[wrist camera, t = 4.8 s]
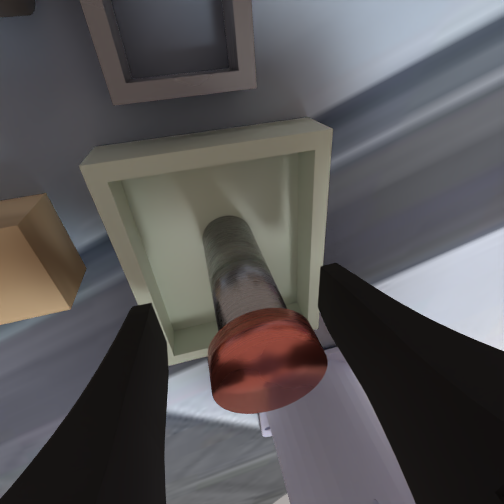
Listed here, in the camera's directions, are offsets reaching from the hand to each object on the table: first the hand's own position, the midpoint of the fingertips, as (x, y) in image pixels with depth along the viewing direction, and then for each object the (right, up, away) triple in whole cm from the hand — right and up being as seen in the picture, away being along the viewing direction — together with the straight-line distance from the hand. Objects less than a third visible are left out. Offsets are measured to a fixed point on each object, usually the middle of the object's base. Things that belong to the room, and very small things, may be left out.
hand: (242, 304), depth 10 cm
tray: (-1, +2, +3) cm, 4 cm away
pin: (-1, +3, +3) cm, 4 cm away
